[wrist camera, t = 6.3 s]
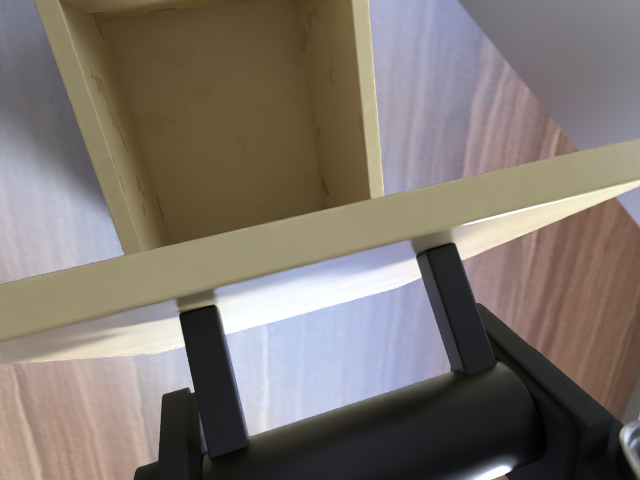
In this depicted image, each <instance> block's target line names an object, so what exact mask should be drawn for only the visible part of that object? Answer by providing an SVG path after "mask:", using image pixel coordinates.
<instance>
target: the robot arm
mask: <svg viewBox="0 0 640 480" xmlns="http://www.w3.org/2000/svg"><path fill="white" fill-rule="evenodd" d="M476 304H477V307H478V310H479V313H480V316H481V319H482V322H483V325H484V328H485V331H486V334H487V336H488V339H489V342H490V345H491V348H492V351H493V354H494V357H495V360H497V361H500V362H502V363H504V364H506V365H507V366H508V367H510V368H511V369H512V370H513V371H514V372H515V373H516V374H517V375H518V376H519V378H520V379H521V380H522V381H523V383H524V384H525V386H526V387H527V388H528V390H529V392H530V393H531V395H532V397H533V399H534V401H535V403H536V405H537V407H538V410H539V412H540V415H541V418H542V421H543V424H544V428H545V434H546V449H545V452H544V455H543V456H542V457H541V459H540V460H539V461H537V462H535V463H532V464H529V465H527V466H524V467H522V468H519V469H516V470H514V471H511V472H508V473H506V474H505V475H506V477H507V478H508V479H509V480H640V420H636V421H632V422H630V423H628V424H626V425H625V426H624V425H623V424H622V423H621V422H620V421H619V420H617V419H616V418H615V417H614V416H613V415H612V414H610V413H609V412H608V411H607V410H606V409H605V408H604V407H602V406H601V405H600V404H599V403H598V402H597V401H595V400H594V399H593V398H592V397H591V396H590V395H588V394H587V393H586V392H585V391H584V390H583V389H581V388H580V387H579V386H578V385H577V384H576V383H574V382H573V381H572V380H571V379H570V378H569V377H567V376H566V375H565V374H564V373H563V372H562V371H560V370H559V369H558V368H557V367H556V366H555V365H553V364H552V363H551V362H550V361H549V360H548V359H546V358H545V357H544V356H543V355H542V354H541V353H539V352H538V351H537V350H536V349H534V348H533V347H531V346H530V345H529V344H527V343H526V342H525V341H524V340H523V339H522V338H520V337H519V336H518V335H517V334H516V333H515V332H514V331H512V330H511V329H510V328H509V327H508V326H507V325H505V324H504V323H503V322H502V321H501V320H500V319H498V318H497V317H496V316H495V315H494V314H493V313H491V312H490V311H489V310H488V309H487V308H486V307H485V306H483V305H482V304H480V303H476ZM451 372H452V368H451ZM206 451H207V447H206V442H205V437H204V432H203V428H202V423H201V418H200V414H199V409H198V404H197V400H196V395H195V392H194V393H191V391H190V389H189V388H184V389H181V390H177V391H174V392H171V393H167V394H164V395H163V397H162V408H161V425H160V441H159V457H158V461H157V462H154V463H151V464H148V465H145V466H142V467H139V468H137V470H136V472H135V476H134V480H201V462H202V456H203V454H204V453H205V452H206Z"/></svg>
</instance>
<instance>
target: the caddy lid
mask: <svg viewBox="0 0 640 480" xmlns="http://www.w3.org/2000/svg"><path fill="white" fill-rule="evenodd" d="M638 186H640V137H639V138H634V139H631V140H626V141H621V142H617V143H613V144H608V145H604V146H600V147H595V148H591V149H587V150H583V151H578V152H573V153H569V154H565V155H560V156H556V157H552V158H547V159H543V160H539V161H534V162H530V163H525V164H521V165H517V166H512V167H508V168H504V169H499V170H495V171H491V172H486V173H482V174H478V175H473V176H469V177H464V178H460V179H456V180H451V181H447V182H443V183H438V184H434V185H430V186H425V187H421V188H417V189H412V190H408V191H403V192H399V193H395V194H390V195H386V196H382V197H377V198H373V199H369V200H364V201H360V202H356V203H351V204H347V205H342V206H338V207H334V208H329V209H325V210H321V211H316V212H312V213H308V214H303V215H299V216H295V217H290V218H286V219H281V220H277V221H273V222H268V223H264V224H260V225H255V226H251V227H247V228H242V229H238V230H234V231H229V232H225V233H221V234H216V235H212V236H207V237H203V238H199V239H194V240H190V241H186V242H181V243H177V244H173V245H168V246H164V247H160V248H155V249H151V250H146V251H142V252H138V253H133V254H129V255H125V256H120V257H116V258H112V259H107V260H103V261H99V262H94V263H90V264H85V265H81V266H77V267H72V268H68V269H64V270H59V271H55V272H51V273H46V274H42V275H38V276H33V277H29V278H24V279H20V280H16V281H11V282H7V283H3V284H0V364H13V363H28V362H43V361H57V360H72V359H86V358H101V357H115V356H130V355H144V354H158V353H161V352H165V351H169V350H172V349H176V348H180V347H183V346H185V348H186V352H187V357H188V362H189V367H190V371H191V376H192V381H193V385H194V390H195V395H196V400H197V404H198V409H199V414H200V418H201V423H202V428H203V432H204V437H205V442H206V447H207V451H206V452H205V453H204V454H203V456H202V462H201V480H490V479H493V478H495V477H498V476H501V475H503V474H506V473H508V472H511V471H514V470H516V469H519V468H522V467H524V466H527V465H529V464H532V463H535V462H537V461H539V460H540V459H541V457H542V456H543V455H544V452H545V449H546V434H545V428H544V424H543V421H542V418H541V415H540V412H539V410H538V407H537V405H536V403H535V401H534V399H533V397H532V395H531V393H530V392H529V390H528V388H527V387H526V386H525V384H524V383H523V381H522V380H521V379H520V378H519V376H518V375H517V374H516V373H515V372H514V371H513V370H512V369H511V368H510V367H508V366H507V365H506V364H504V363H502V362H500V361H497V360H495V357H494V354H493V351H492V348H491V345H490V342H489V339H488V336H487V334H486V331H485V328H484V325H483V322H482V319H481V316H480V313H479V310H478V307H477V304H476V302H475V299H474V296H473V293H472V290H471V287H470V284H469V281H468V278H467V275H466V272H465V269H464V267H463V264H462V260H464V259H467V258H469V257H472V256H474V255H476V254H479V253H481V252H483V251H486V250H488V249H491V248H493V247H495V246H498V245H500V244H503V243H505V242H507V241H510V240H512V239H514V238H517V237H519V236H522V235H524V234H526V233H529V232H531V231H534V230H536V229H538V228H541V227H543V226H545V225H548V224H550V223H553V222H555V221H557V220H560V219H562V218H565V217H567V216H569V215H572V214H574V213H576V212H579V211H581V210H584V209H586V208H588V207H591V206H593V205H596V204H598V203H600V202H603V201H605V200H607V199H610V198H612V197H615V196H617V195H619V194H622V193H624V192H627V191H629V190H631V189H634V188H636V187H638ZM421 277H422V278H423V281H424V285H425V288H426V291H427V294H428V297H429V300H430V303H431V306H432V309H433V312H434V315H435V319H436V322H437V325H438V328H439V331H440V334H441V337H442V340H443V343H444V346H445V349H446V353H447V356H448V359H449V362H450V365H451V368H452V372H449V373H446V374H443V375H440V376H437V377H434V378H431V379H428V380H424V381H421V382H418V383H415V384H412V385H409V386H406V387H403V388H400V389H396V390H393V391H390V392H387V393H384V394H381V395H378V396H375V397H372V398H369V399H365V400H362V401H359V402H356V403H353V404H350V405H347V406H344V407H341V408H337V409H334V410H331V411H328V412H325V413H322V414H319V415H316V416H313V417H310V418H306V419H303V420H300V421H297V422H294V423H291V424H288V425H285V426H282V427H278V428H275V429H272V430H269V431H266V432H263V433H260V434H257V435H254V436H250V437H249V436H248V431H247V427H246V423H245V418H244V414H243V410H242V405H241V401H240V397H239V392H238V388H237V384H236V379H235V375H234V371H233V366H232V362H231V358H230V353H229V349H228V345H227V340H226V336H225V335H227V334H231V333H234V332H238V331H242V330H245V329H249V328H253V327H256V326H260V325H264V324H267V323H271V322H275V321H278V320H282V319H285V318H289V317H293V316H296V315H300V314H304V313H307V312H311V311H315V310H318V309H322V308H326V307H329V306H333V305H337V304H340V303H344V302H347V301H351V300H355V299H358V298H362V297H366V296H369V295H373V294H377V293H380V292H384V291H388V290H391V289H395V288H398V287H400V286H402V285H405V284H407V283H410V282H412V281H414V280H417V279H419V278H421Z"/></svg>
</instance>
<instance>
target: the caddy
mask: <svg viewBox="0 0 640 480" xmlns="http://www.w3.org/2000/svg"><path fill="white" fill-rule="evenodd" d="M34 2H35V5H36V8H37V11H38V14H39V16H40V19H41V22H42V25H43V28H44V30H45V33H46V36H47V39H48V42H49V44H50V47H51V50H52V53H53V56H54V58H55V61H56V64H57V67H58V70H59V72H60V75H61V78H62V81H63V84H64V86H65V89H66V92H67V95H68V98H69V100H70V103H71V106H72V109H73V112H74V114H75V117H76V120H77V123H78V126H79V128H80V131H81V134H82V137H83V140H84V142H85V145H86V148H87V151H88V154H89V156H90V159H91V162H92V165H93V168H94V170H95V173H96V176H97V179H98V182H99V184H100V187H101V190H102V193H103V196H104V198H105V201H106V204H107V207H108V210H109V212H110V215H111V218H112V221H113V224H114V227H115V229H116V232H117V235H118V238H119V241H120V243H121V246H122V249H123V252H124V255H129V254H133V253H138V252H142V251H146V250H151V249H155V248H160V247H164V246H168V245H173V244H177V243H181V242H186V241H190V240H194V239H199V238H203V237H207V236H212V235H216V234H221V233H225V232H229V231H234V230H238V229H242V228H247V227H251V226H255V225H260V224H264V223H268V222H273V221H277V220H281V219H286V218H290V217H295V216H299V215H303V214H308V213H312V212H316V211H321V210H325V209H329V208H334V207H338V206H342V205H347V204H351V203H356V202H360V201H364V200H369V199H373V198H377V197H382V196H384V188H383V176H382V164H381V151H380V139H379V126H378V114H377V102H376V89H375V77H374V65H373V52H372V40H371V28H370V15H369V3H368V0H34Z"/></svg>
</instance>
